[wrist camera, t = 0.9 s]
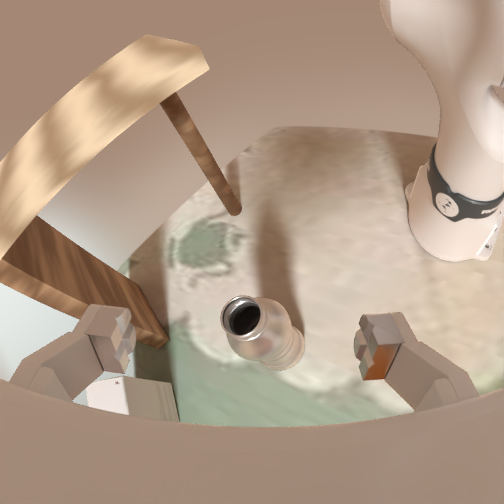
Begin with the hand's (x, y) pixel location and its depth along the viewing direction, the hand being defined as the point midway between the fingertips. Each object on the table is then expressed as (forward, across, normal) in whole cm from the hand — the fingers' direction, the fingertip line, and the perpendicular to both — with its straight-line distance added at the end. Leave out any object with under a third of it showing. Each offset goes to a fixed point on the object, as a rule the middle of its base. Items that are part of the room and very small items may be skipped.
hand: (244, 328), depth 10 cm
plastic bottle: (+23, -5, +25) cm, 35 cm away
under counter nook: (+36, +8, +21) cm, 43 cm away
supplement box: (+18, +14, +36) cm, 43 cm away
